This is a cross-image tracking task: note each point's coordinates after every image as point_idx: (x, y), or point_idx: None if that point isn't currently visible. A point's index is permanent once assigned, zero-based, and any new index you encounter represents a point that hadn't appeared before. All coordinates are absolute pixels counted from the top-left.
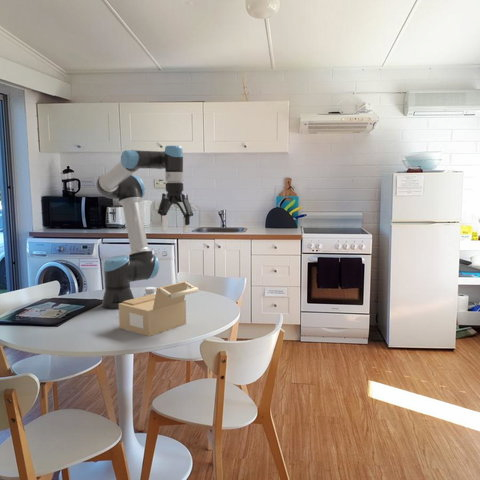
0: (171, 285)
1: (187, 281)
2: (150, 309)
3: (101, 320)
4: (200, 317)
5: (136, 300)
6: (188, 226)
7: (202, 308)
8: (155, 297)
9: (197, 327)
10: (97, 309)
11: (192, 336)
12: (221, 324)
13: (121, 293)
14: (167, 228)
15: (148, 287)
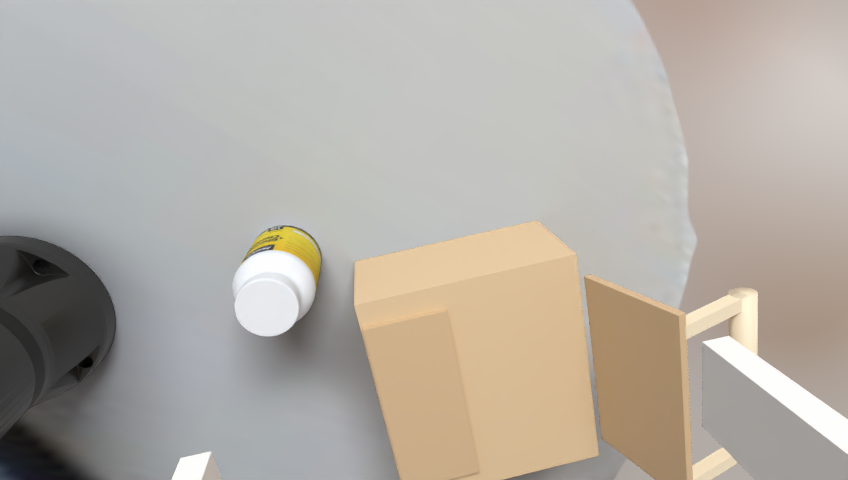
0: (690, 426)
1: (685, 317)
2: (587, 440)
3: (257, 452)
4: (506, 117)
5: (434, 442)
6: (806, 399)
7: (379, 6)
8: (649, 472)
9: (608, 211)
10: (61, 415)
11: (672, 282)
12: (654, 110)
13: (61, 358)
14: (207, 478)
15: (244, 311)
